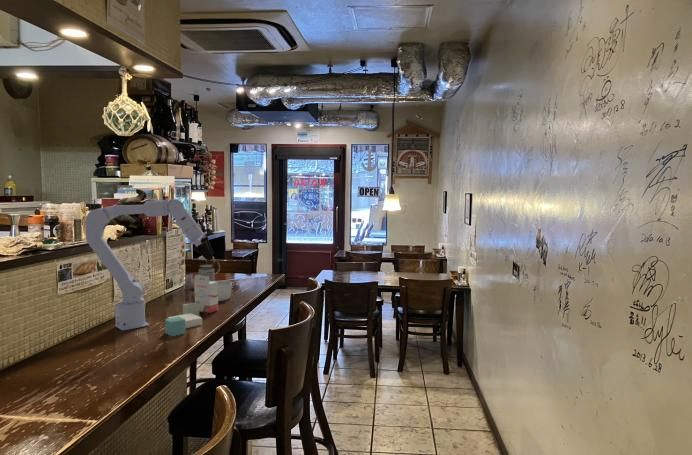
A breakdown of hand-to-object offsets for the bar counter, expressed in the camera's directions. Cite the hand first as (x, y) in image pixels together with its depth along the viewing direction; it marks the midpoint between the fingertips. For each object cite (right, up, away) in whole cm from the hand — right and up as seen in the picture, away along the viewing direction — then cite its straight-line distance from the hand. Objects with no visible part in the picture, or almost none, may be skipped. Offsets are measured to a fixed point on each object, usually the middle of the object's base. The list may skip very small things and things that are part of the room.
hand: (211, 257), depth 179 cm
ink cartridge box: (-6, -23, +14) cm, 27 cm away
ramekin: (-7, -21, +34) cm, 41 cm away
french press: (-20, -18, +66) cm, 71 cm away
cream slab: (-8, -24, -6) cm, 26 cm away
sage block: (-10, -23, +6) cm, 26 cm away
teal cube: (-8, -25, -16) cm, 31 cm away
